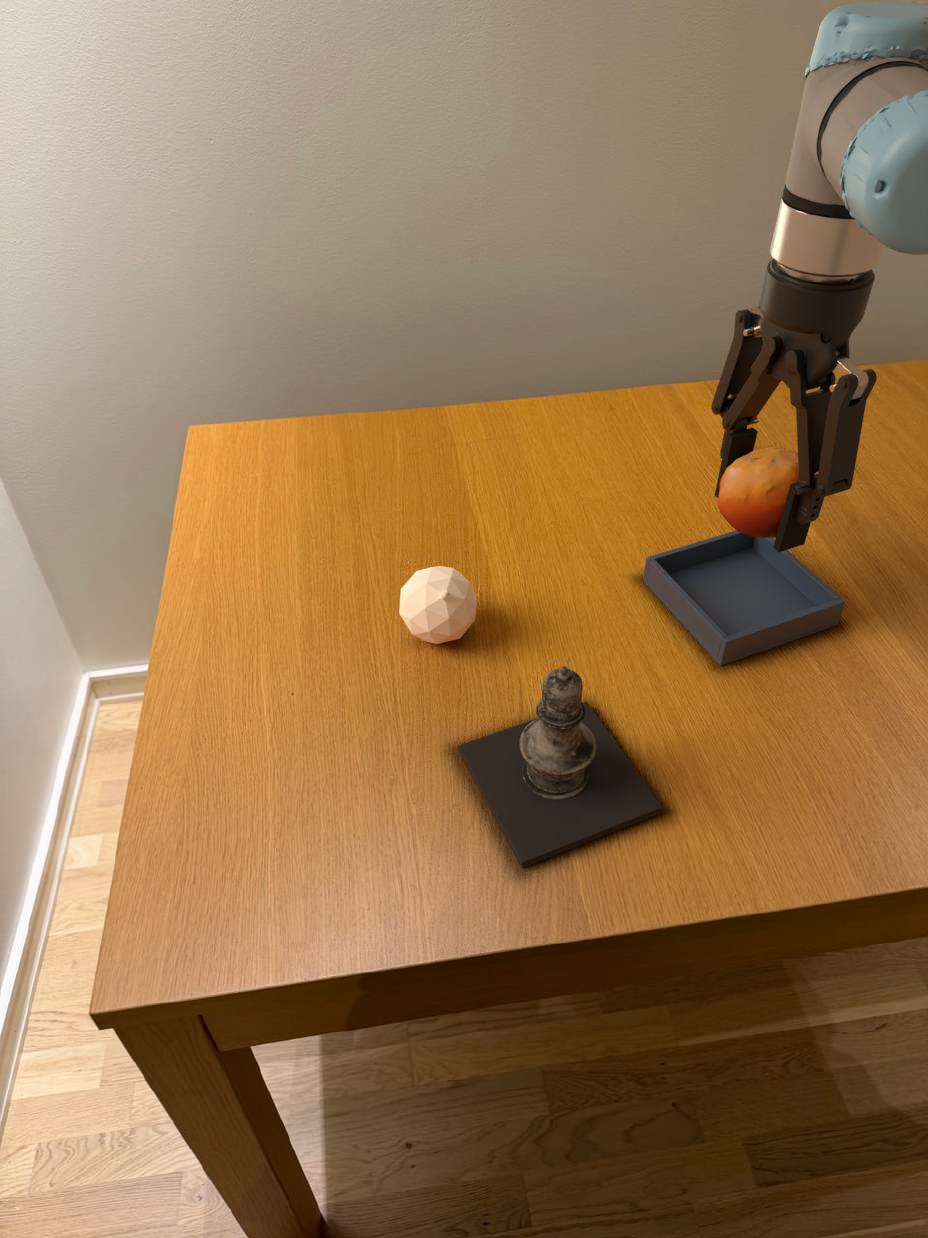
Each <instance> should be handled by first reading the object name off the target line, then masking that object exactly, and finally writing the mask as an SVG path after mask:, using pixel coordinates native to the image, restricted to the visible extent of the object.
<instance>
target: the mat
mask: <svg viewBox="0 0 928 1238" xmlns="http://www.w3.org/2000/svg"><path fill="white" fill-rule="evenodd" d="M582 703H583V705H584V707H585V716H584V719H583V720H582V722H581V723H583V724H584V725H586V726H587V727H588V729H589V730H590V731H591V732H592V734H593V736H594V738H595V740H596V752H595V756H594V758H593V760H592V761H591V763H590V764H589V765H588V771H589V778H588V782H587V784H586V786H585V787H584V789H583V790H582V791H581V792H580V793H579V794H577V795H575V796H573V797H571V798H567V799H563V800H552V799H548V798H544V797H542V796H539V795H537V794H536V793H534V792H533V791H532V790H530V789H529V787H528V786H527V785H526V783H525V781H524V779H523V776H522V767H523V764H524V761H525V758H524V757H523V755H522V753H521V750H520V737H521V734H522V732H523V730H524V729H525V727H526V726H527V725H528V724H530V723H531V722H532V721H534V720H536V719H538V717H537V718H535V719H532V720H529V721H526V722H523V723H520V724H517V725H514V726H511V727H508V728H506V729H503V730H500V731H496V732H494V733H491V734H489V735H485V736H483V737H480V738H477V739H473V740H471V741H468V742H465V743H462V744H459V745H458V748H457V749H458V751H457V752H458V754H459V755H460V757H461V759H462V761H463V763H464V764H465V766H466V768H467V770H468V772H469V774H470V775H471V777H472V779H473V782H474V783H475V785H476V786H477V789H478V791H479V792H480V795H481V796H482V798H483V800H484V801H485V803H486V805H487V808H488V809H489V811H490V812H491V814H492V816H493V818H494V820H495V821H496V824H497V825H498V827H499V829H500V831H501V833H502V834H503V836H504V838H505V840H506V842H507V843H508V846H509V847H510V849H511V851H512V853H513V855H514V857H515V858H516V860H517V862H518V864H519V866H520V868H521V869H523V868H526V867H529V866H532V865H534V864H537V863H539V862H542V861H543V860H546V859H549V858H551V857H554V856H556V855H559V854H561V853H564V852H566V851H569V850H572V849H574V848H576V847H580V846H581V845H584V844H586V843H590V842H592V841H594V840H597V839H599V838H602V837H605V836H607V835H610V834H613V833H615V832H618V831H619V830H623V829H625V828H627V827H631V826H632V825H635V824H637V823H640V822H643V821H645V820H648V819H650V818H653V817H656V816H658V815H661V814H662V813H663V805H662V804H661V803H660V801H659V800H658V799H657V797H656V796H655V794H654V792H652V790H651V789H650V788H649V786H648V784H647V783H646V782H645V780H644V779H643V778H642V777H641V775H640V774H639V772H638V771H637V769H636V768H635V766H634V765H633V764H632V762H631V761H630V760H629V758H628V756H627V755H626V754H625V752H623V749H622V748H621V747H620V746H619V744H618V743H617V742H616V741H615V740H616V739H615V738H614V737H613V735H611V733H610V732H609V730H608V729H607V727H606V726H605V725H604V723H603V722H602V721H601V719H600V718H599V717H598V715H597V713H596V712H595V711H594V710H593V708H592V707H591V706H590V704H589V703H588V701H583V702H582Z"/></svg>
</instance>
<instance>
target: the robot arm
mask: <svg viewBox="0 0 928 1238" xmlns="http://www.w3.org/2000/svg"><path fill="white" fill-rule="evenodd" d="M804 78H805V83H804V89H803V94H802V98H801V104H800V108H799V112H798V118H797V123H796V128H795V131H794V132H795V133H794V138H793V142H792V148H791V151H790V157H789V162H788V167H787V172H786V177H785V182H784V187H783V192H782V196H781V199H780V203H779V208H778V212H777V217H776V220H775V225H774V230H773V235H772V238H771V243H770V247H769V253H770V255H771V257H772V259H771V260H770V261H769V262H768V263H767V265H766V269H765V275H764V278H763V284H762V289H761V293H760V298H759V304H758V305H757V306H754V307H749V308H745V309H741V310H737V311H736V313H735V314H734V315H735V316H734V328H733V338H732V341H731V344H730V347H729V350H728V353H727V356H726V360H725V362H724V365H723V369H722V371H721V375H720V378H719V381H718V385H717V387H716V390H715V393H714V396H713V399H712V403H711V405H710V406H711V412H712V413H713V414H714V415H715V416H717V415H718V416H720V417H721V419H722V420H721V425H722V429H724V431H723V437H722V441H721V446H720V451H719V454H720V459H721V462H720V468H719V472H718V476H717V482H716V486H715V492H714V497H715V498H716V499H718V496H719V491H720V481H721V478H722V476H723V475H724V473H725V470H726V468H727V467H728V466H730V465H731V464H732V463H733V462H734V461H735V460H736V459H739V458H740V457H742V456H745V455H747V454H749V453H750V452H752V451H755V446H756V441H757V438H758V432H759V431H758V430H757V429H755V428H754V427H748V426H751V425H756V424H758V423H760V421H759V420H758V416H759V414H760V413H761V411H762V410H763V409H764V407H765V406H766V404H767V403H768V402H769V400H770V398H771V397H772V395H773V394H774V392H775V391H776V390H777V388H778V386H779V385H780V384H781V382H783V384H785V386H787V388H788V389H789V399H790V401H789V402H790V404H791V406H793V407H794V408H795V416H796V418H795V419H796V438H797V439H796V441H797V454H798V465H799V482H796V483H793V484H790V488H789V491H788V495H787V499H786V502H785V506H784V510H783V513H782V517H781V521H780V524H779V528H778V532H777V535H776V538H774V539H775V543H774V546H773V548H774V549H775V550H777V551H778V552H781V551H785V550H788V551H789V550H791V549H794V548H798V547H800V546H803V545H805V543H806V540H807V536H808V534H809V530H810V527H811V524H812V522H815V521H816V520H817V519H818V518H819V516H820V515H821V514H820V513H821V510H822V507H823V503H824V500H825V498H826V497H829V496H832V495H835V494H838V493H842V492H845V491H849V490H850V489H851V488H852V485H853V481H854V474H855V469H856V462H857V457H858V451H859V447H860V441H861V434H862V428H863V422H864V416H865V411H866V404H867V401H868V399H869V397H870V395H871V393H872V390H873V389H874V387H875V385H876V382H877V378H878V376H877V375H878V374H877V373H876V371H875V370H874V369H872V368H867V369H863V370H861V369H860V368H859V367H857V365H855V364H854V363H853V362H852V361H851V360H850V357H851V356H850V354H851V353H850V351H851V350H850V338H851V335H852V334H853V332H854V331H855V329H856V328H857V327H858V326H859V325H860V324H861V322H862V320H863V318H864V317H865V313H866V309H867V306H868V302H869V299H870V296H871V293H872V289H873V286H874V282H875V279H876V278H875V277H876V276H875V273H874V271H873V269H874V268H876V267H877V266H878V265H879V263H880V259H881V256H882V253H883V250H884V247H886V248H888V249H890V250H893V251H895V252H898V253H901V254H906V255H912V256H913V255H915V256H918V255H919V256H921V255H923V256H924V255H928V6H924V5H917V4H912V3H901V2H859V3H850V4H845V5H840V6H837V7H836V8H834V9H832V10H831V11H829V12H828V13H827V14H826V15H825V16H824V17H823V19H822V21H821V22H820V24H819V28H818V31H817V35H816V39H815V42H814V45H813V49H812V53H811V57H810V60H809V65H808V66H807V67H806V68H805V71H804ZM818 388H819V389H818ZM814 389H817V390H815V391H811V390H814ZM807 391H811V392H807ZM729 396H730V397H729Z"/></svg>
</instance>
